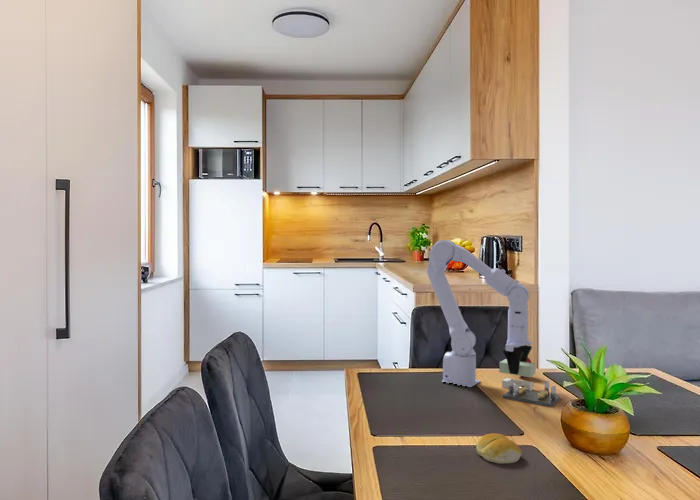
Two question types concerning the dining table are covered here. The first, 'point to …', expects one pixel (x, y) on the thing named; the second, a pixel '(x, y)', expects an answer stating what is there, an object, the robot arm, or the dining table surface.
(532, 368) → the pale green block
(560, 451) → the dining table surface
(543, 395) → the chassis
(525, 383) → the stand
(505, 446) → the bread roll
